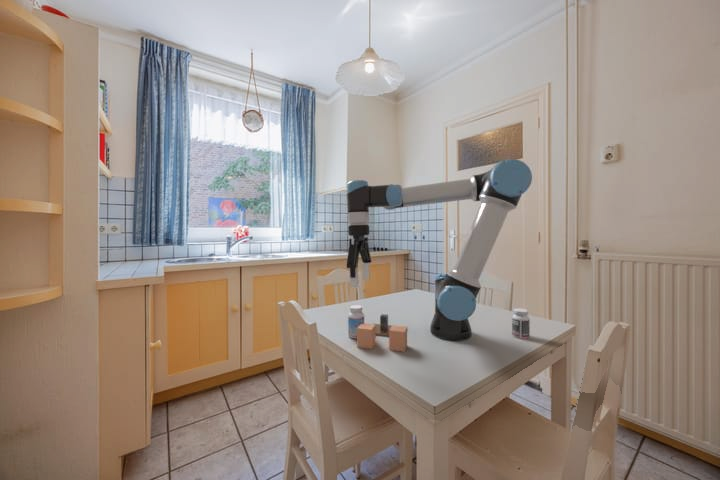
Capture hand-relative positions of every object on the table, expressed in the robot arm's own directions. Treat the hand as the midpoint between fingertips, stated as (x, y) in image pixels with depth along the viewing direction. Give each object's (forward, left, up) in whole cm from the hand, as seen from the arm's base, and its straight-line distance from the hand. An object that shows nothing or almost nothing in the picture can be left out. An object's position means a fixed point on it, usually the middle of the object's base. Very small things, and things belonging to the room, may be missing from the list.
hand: (360, 283), depth 104 cm
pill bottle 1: (+3, -3, -21) cm, 21 cm away
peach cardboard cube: (-3, +4, -21) cm, 21 cm away
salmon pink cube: (-14, +3, -21) cm, 25 cm away
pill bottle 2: (-56, -20, -21) cm, 63 cm away
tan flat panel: (-6, -11, -21) cm, 25 cm away
